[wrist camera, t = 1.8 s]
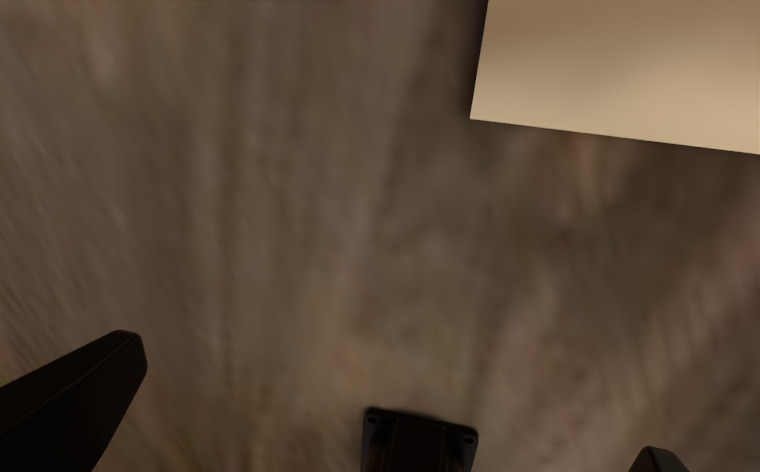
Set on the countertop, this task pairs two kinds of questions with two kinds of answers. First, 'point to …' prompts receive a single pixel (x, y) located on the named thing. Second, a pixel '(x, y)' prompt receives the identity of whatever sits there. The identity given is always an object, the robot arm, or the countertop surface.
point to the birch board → (625, 69)
